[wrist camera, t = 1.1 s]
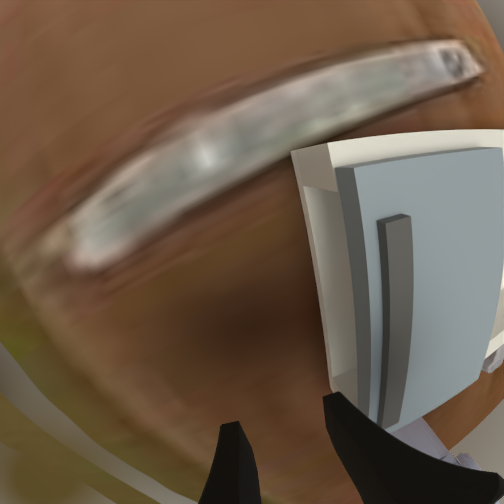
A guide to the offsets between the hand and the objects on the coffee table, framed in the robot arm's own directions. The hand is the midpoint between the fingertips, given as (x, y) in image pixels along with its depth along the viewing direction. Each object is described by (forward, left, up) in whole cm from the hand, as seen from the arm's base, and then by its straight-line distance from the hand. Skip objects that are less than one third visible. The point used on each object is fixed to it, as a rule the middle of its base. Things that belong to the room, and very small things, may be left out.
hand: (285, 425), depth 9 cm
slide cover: (0, -10, -4) cm, 10 cm away
